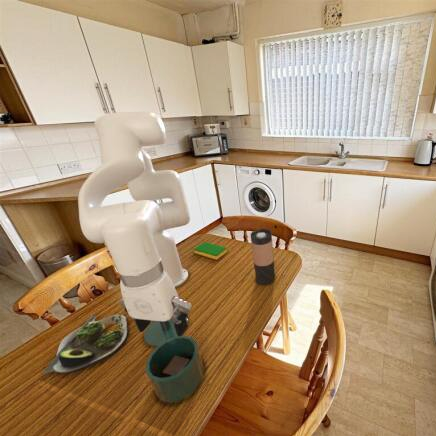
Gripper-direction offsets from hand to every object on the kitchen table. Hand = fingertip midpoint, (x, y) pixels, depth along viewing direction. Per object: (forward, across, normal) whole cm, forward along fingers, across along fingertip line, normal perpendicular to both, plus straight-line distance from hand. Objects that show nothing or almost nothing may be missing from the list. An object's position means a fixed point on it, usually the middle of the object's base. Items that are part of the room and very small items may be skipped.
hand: (164, 329), depth 57 cm
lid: (+13, -9, +10) cm, 19 cm away
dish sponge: (+14, -15, +52) cm, 56 cm away
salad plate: (+14, -28, +2) cm, 31 cm away
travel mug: (+14, +15, +36) cm, 42 cm away
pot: (+13, +3, -3) cm, 14 cm away
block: (+13, +3, -3) cm, 14 cm away
